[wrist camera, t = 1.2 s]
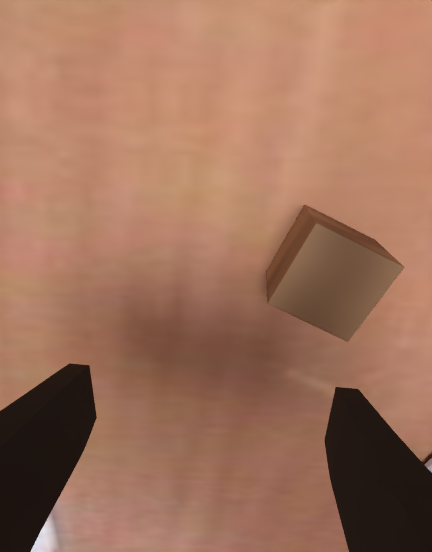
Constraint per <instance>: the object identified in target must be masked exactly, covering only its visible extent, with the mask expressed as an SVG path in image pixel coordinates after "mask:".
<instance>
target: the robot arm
mask: <svg viewBox="0 0 432 552" xmlns="http://www.w3.org/2000/svg"><path fill="white" fill-rule="evenodd" d="M96 418H97V417H96V410H95V403H94V396H93V388H92V381H91V374H90V367H89V365H79V364H68V365H67V366H65V367H64V368H62V369H61V370H59V371H58V372H56V373H55V374H53V375H52V376H50V377H49V378H48V379H46V380H45V381H43V382H42V383H40V384H39V385H38V386H36V387H35V388H33V389H32V390H30V391H29V392H28V393H26V394H25V395H23V396H22V397H20V398H19V399H17V400H16V401H14V402H13V403H11V404H10V405H9V406H7V407H6V408H4V409H3V410H1V411H0V552H30V551H31V549H32V547H33V545H34V543H35V541H36V539H37V537H38V535H39V533H40V531H41V529H42V527H43V526H44V524H45V522H46V520H47V518H48V516H49V514H50V513H51V511H52V509H53V507H54V505H55V503H56V502H57V500H58V498H59V496H60V494H61V492H62V490H63V489H64V487H65V485H66V483H67V481H68V479H69V477H70V476H71V474H72V472H73V470H74V468H75V466H76V464H77V462H78V461H79V459H80V457H81V455H82V453H83V451H84V448H85V446H86V444H87V441H88V439H89V436H90V434H91V431H92V428H93V426H94V423H95V420H96ZM325 447H326V454H327V462H328V468H329V474H330V480H331V484H332V488H333V492H334V496H335V499H336V503H337V507H338V511H339V515H340V519H341V522H342V526H343V530H344V534H345V538H346V542H347V545H348V549H349V552H432V458H431V459H430V460H429V461H428V462H427V463H426V464H425V465H424V464H423V463H422V462H421V461H420V460H419V459H418V458H417V457H416V455H415V454H414V453H413V452H412V451H411V450H410V449H409V448H408V447H407V445H406V444H405V443H404V442H403V441H402V440H401V439H400V438H399V437H398V435H397V434H396V433H395V432H394V431H393V430H392V428H391V427H390V426H389V425H388V424H387V423H386V421H385V420H384V419H383V418H382V417H381V416H380V414H379V413H378V412H377V411H376V410H375V408H374V407H373V406H372V405H371V404H370V403H369V401H368V400H367V399H366V398H365V397H364V395H363V394H362V393H361V392H360V391H359V390H358V389H352V388H340V387H336V389H335V393H334V398H333V403H332V408H331V412H330V417H329V422H328V427H327V431H326V436H325Z"/></svg>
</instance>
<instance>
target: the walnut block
mask: <svg viewBox="0 0 432 552" xmlns="http://www.w3.org/2000/svg"><path fill="white" fill-rule="evenodd" d="M403 269H404V266H403V265H402V264H400V263H399V262H398V261H397V260H396V259H395V258H394V257H393V256H392V255H391V254H390V253H389V252H388V251H386V250H385V249H384V248H383V247H382V246H381V245H380V244H379V243H378V242H377V241H376V240H374V239H372V238H370V237H368V236H366V235H364V234H362V233H360V232H358V231H356V230H354V229H352V228H350V227H348V226H347V225H345V224H343V223H341V222H339V221H337V220H335V219H333V218H331V217H329V216H327V215H325V214H323V213H321V212H319V211H317V210H315V209H313V208H311V207H309V206H307V205H304V207H303V208H302V210H301V212H300V214H299V215H298V217H297V219H296V221H295V222H294V224H293V226H292V227H291V229H290V231H289V233H288V234H287V236H286V238H285V240H284V241H283V243H282V245H281V247H280V248H279V250H278V252H277V253H276V255H275V257H274V259H273V260H272V262H271V264H270V266H269V267H268V269H267V271H266V275H267V301H268V304H270V305H272V306H274V307H276V308H278V309H280V310H282V311H284V312H286V313H288V314H291V315H293V316H295V317H297V318H299V319H301V320H303V321H305V322H307V323H309V324H311V325H313V326H316V327H318V328H320V329H322V330H324V331H326V332H328V333H330V334H332V335H334V336H336V337H338V338H341V339H343V340H345V341H347V342H348V341H349V340H350V338H351V337H352V336H353V334H354V333H355V332H356V331H357V329H358V328H359V327H360V325H361V324H362V323H363V321H364V320H365V319H366V317H367V316H368V315H369V313H370V312H371V311H372V309H373V308H374V307H375V306H376V304H377V303H378V302H379V300H380V299H381V298H382V296H383V295H384V294H385V292H386V291H387V290H388V288H389V287H390V286H391V284H392V283H393V282H394V280H395V279H396V278H397V277H398V275H399V274H400V273H401V271H402V270H403Z"/></svg>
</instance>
